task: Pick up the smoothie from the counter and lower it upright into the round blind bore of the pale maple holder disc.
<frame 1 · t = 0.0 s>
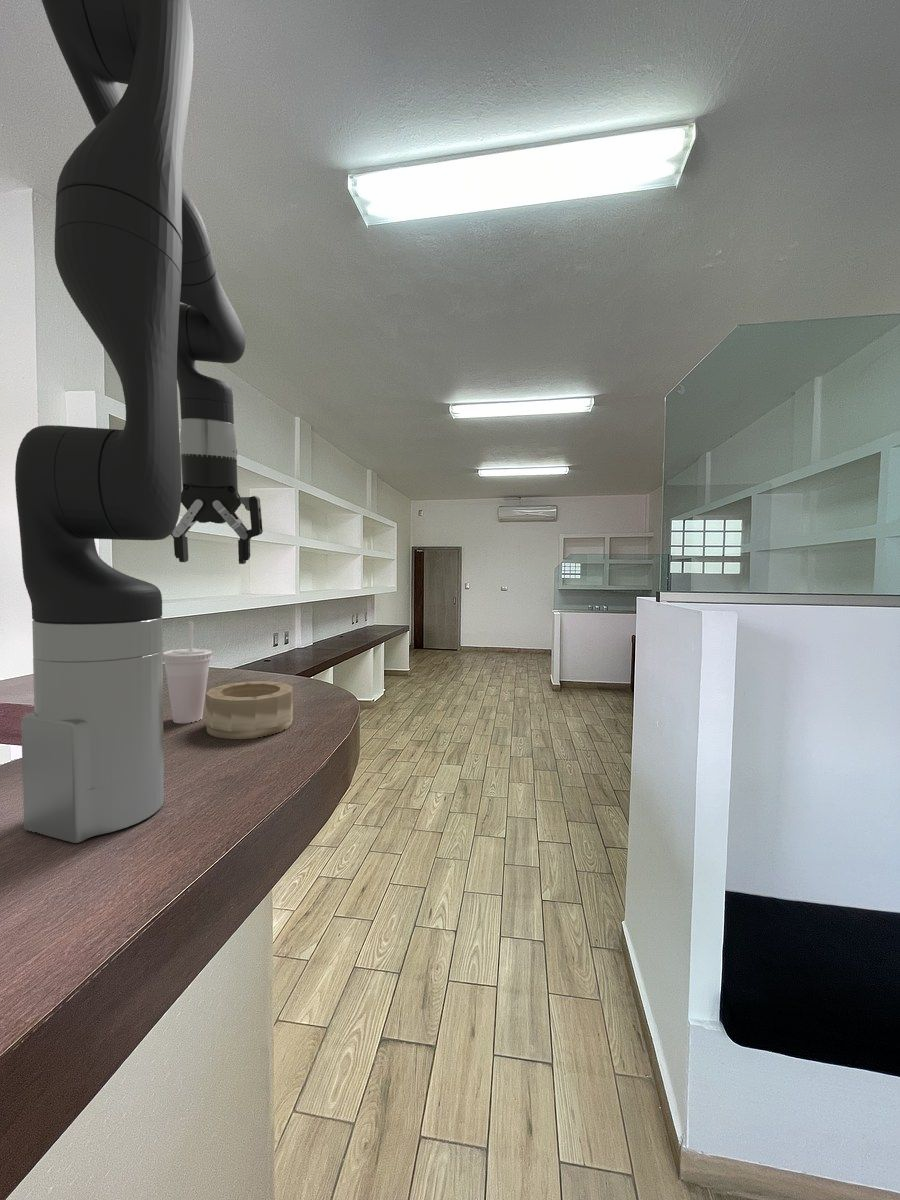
hand: (213, 562, 79), 22 cm above the countertop, tool pointing down, fingers open, 8 cm apart
smoothie: (187, 720, 72), on the countertop
holder: (250, 725, 70), on the countertop
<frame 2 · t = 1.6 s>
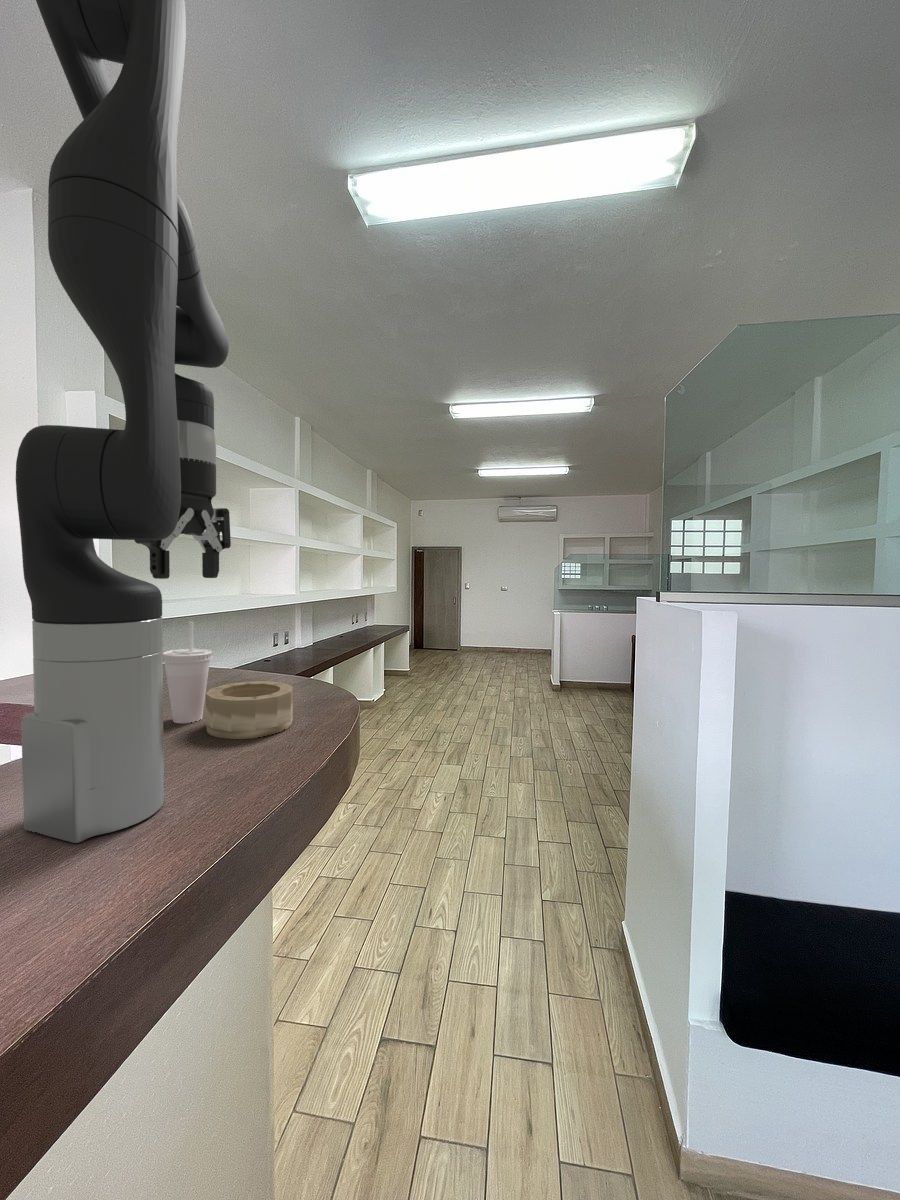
hand: (187, 578, 71), 20 cm above the countertop, tool pointing down, fingers open, 8 cm apart
nothing on the countertop moved.
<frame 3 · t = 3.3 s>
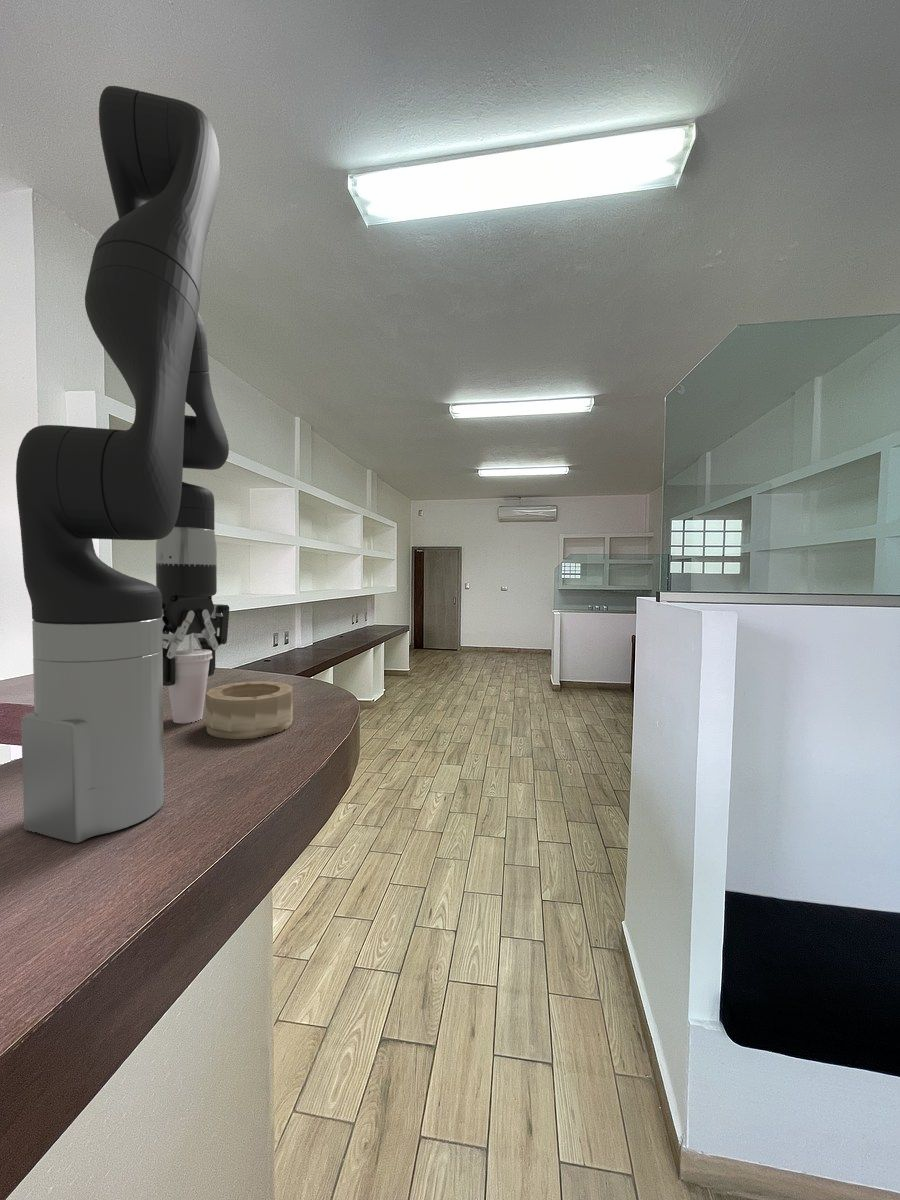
hand: (187, 679, 72), 6 cm above the countertop, tool pointing down, fingers closed on smoothie, 6 cm apart
smoothie: (187, 720, 72), on the countertop, touching gripper
everything else where it was.
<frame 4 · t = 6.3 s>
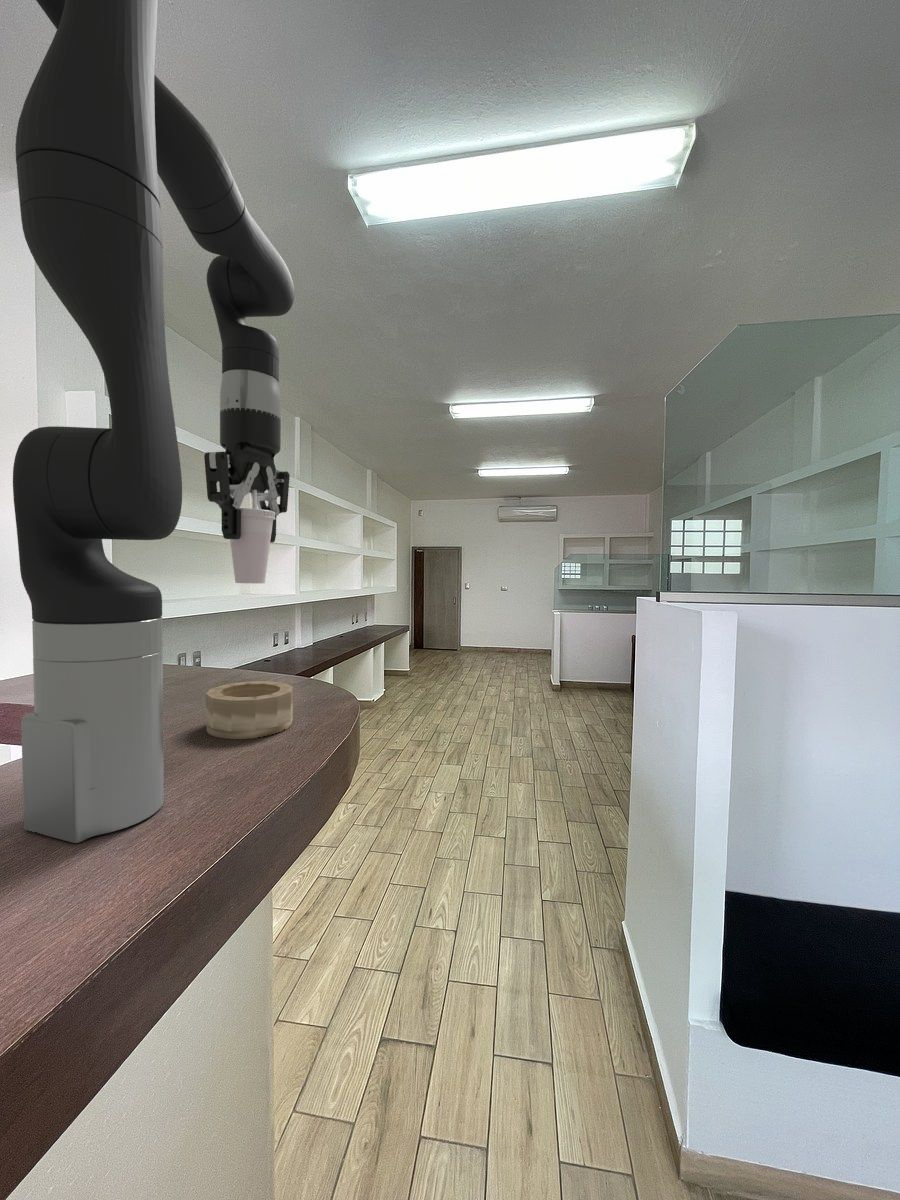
hand: (250, 540, 69), 25 cm above the countertop, tool pointing down, fingers closed on smoothie, 6 cm apart
smoothie: (250, 584, 69), point 20 cm above the countertop, touching gripper
everything else where it was.
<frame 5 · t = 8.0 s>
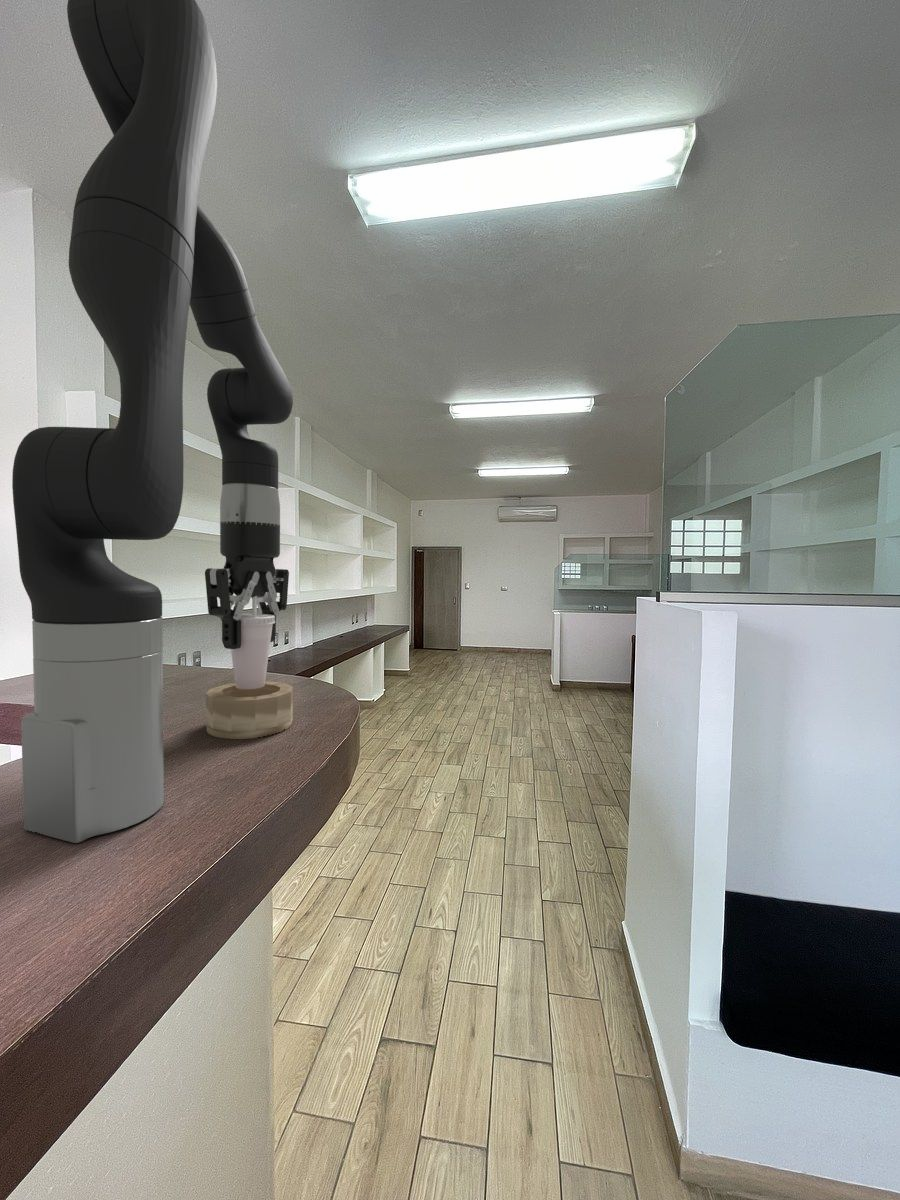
hand: (250, 644, 70), 11 cm above the countertop, tool pointing down, fingers closed on smoothie, 6 cm apart
smoothie: (250, 687, 70), point 5 cm above the countertop, touching gripper
everything else where it was.
when the fingers open (8 cm above the countertop, at t = 9.2 s): smoothie drops 1 cm, resting on holder.
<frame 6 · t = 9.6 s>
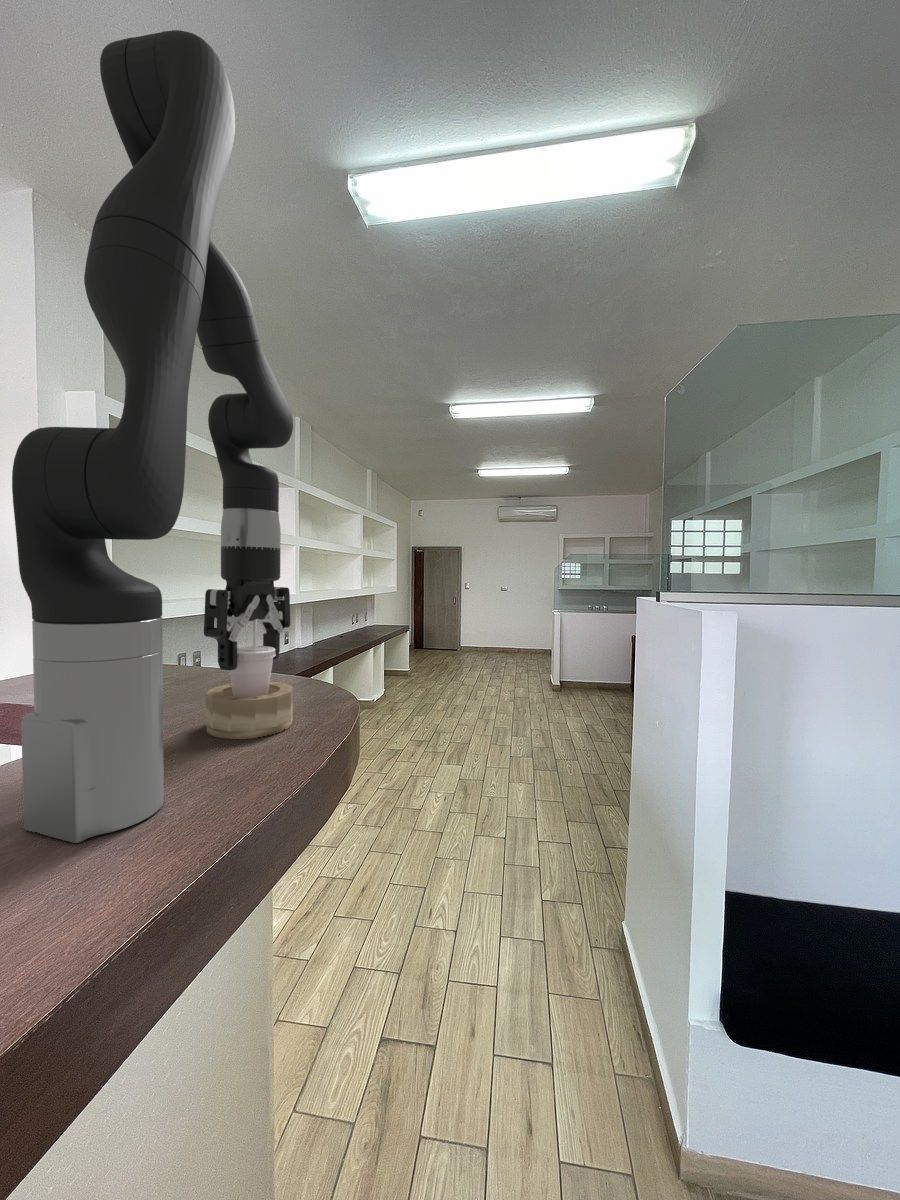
hand: (250, 664, 70), 9 cm above the countertop, tool pointing down, fingers open, 8 cm apart
smoothie: (250, 720, 70), point 1 cm above the countertop, touching holder
everything else where it was.
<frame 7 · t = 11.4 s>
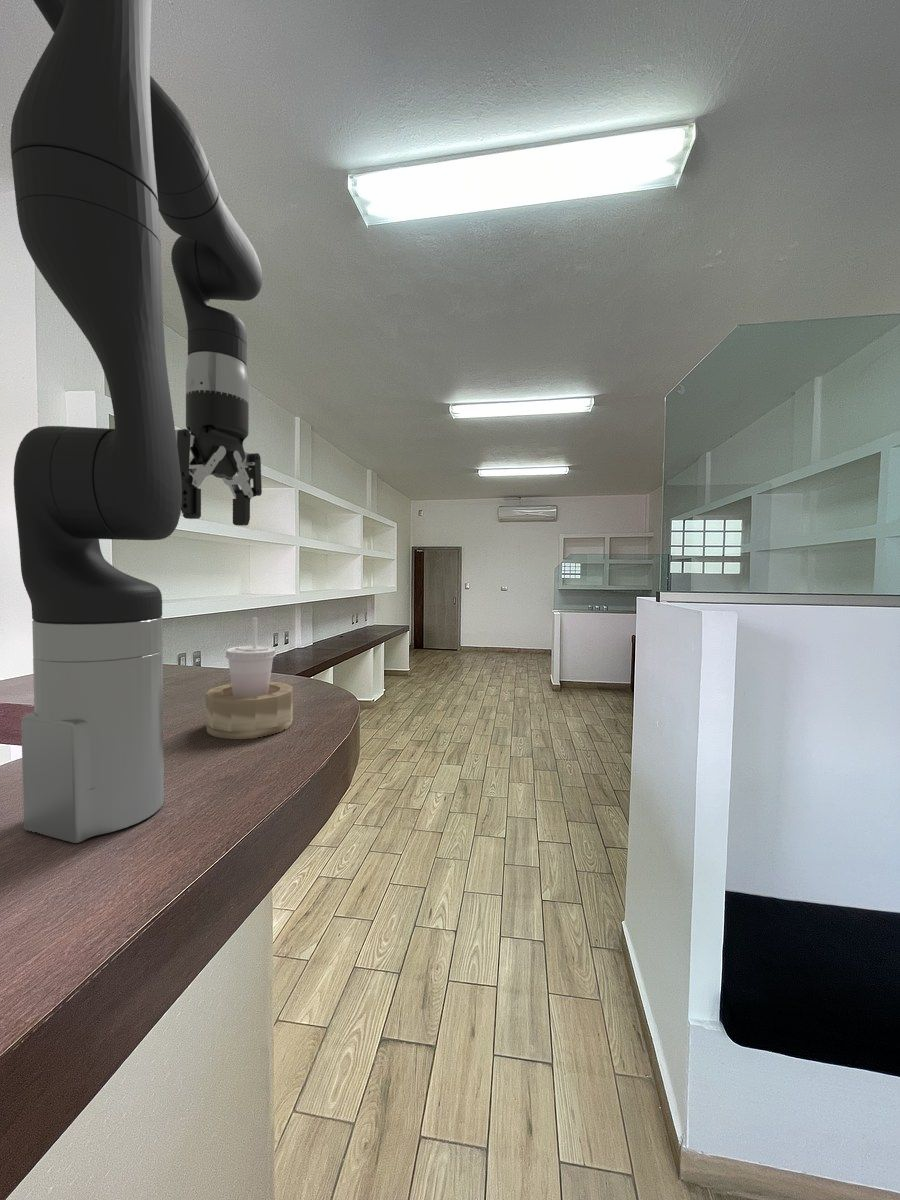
hand: (217, 522, 68), 28 cm above the countertop, tool pointing down, fingers open, 8 cm apart
nothing on the countertop moved.
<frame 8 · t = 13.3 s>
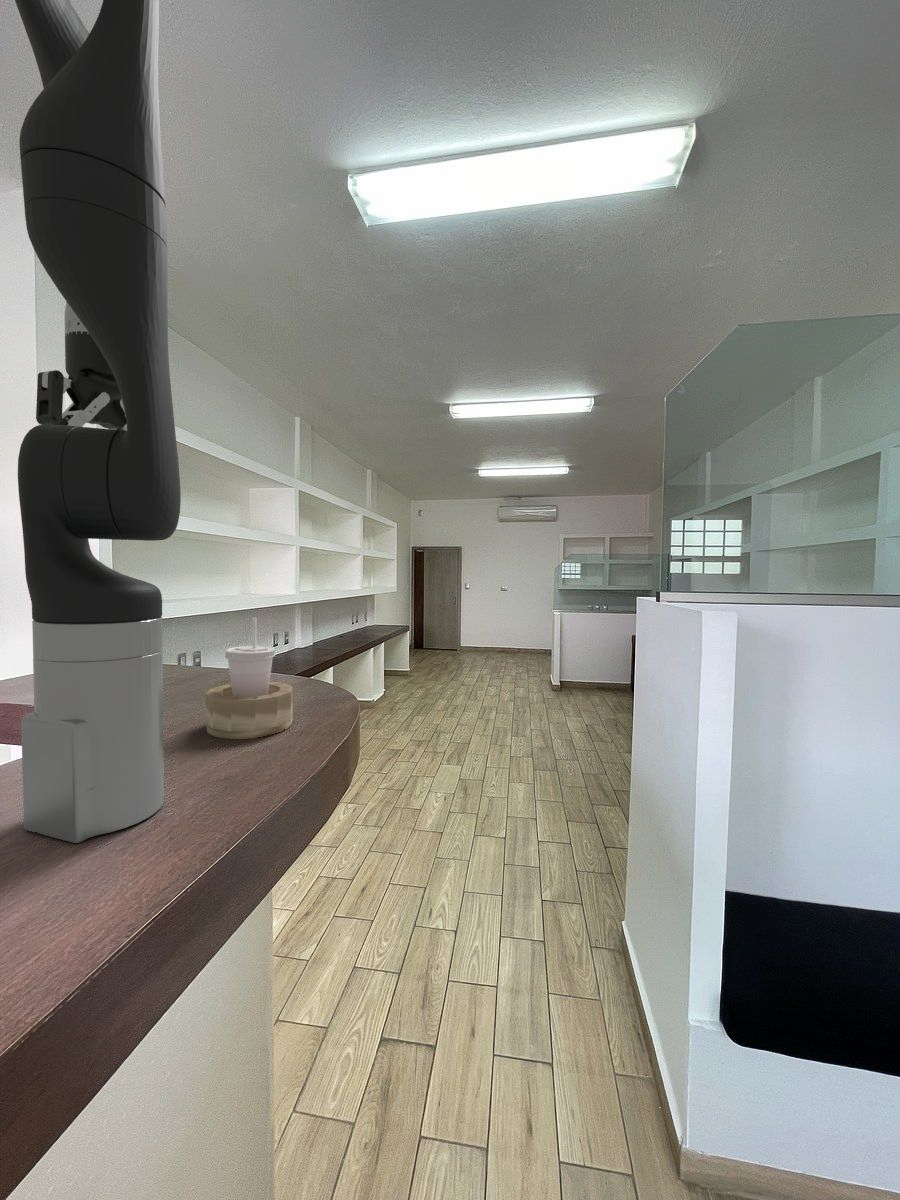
hand: (104, 474, 64), 33 cm above the countertop, tool pointing down, fingers open, 8 cm apart
nothing on the countertop moved.
at the end: smoothie 0.1 cm off-centre on the holder, point 0.8 cm above the holder's base; smoothie tilted 0°; the gripper is holding nothing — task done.
